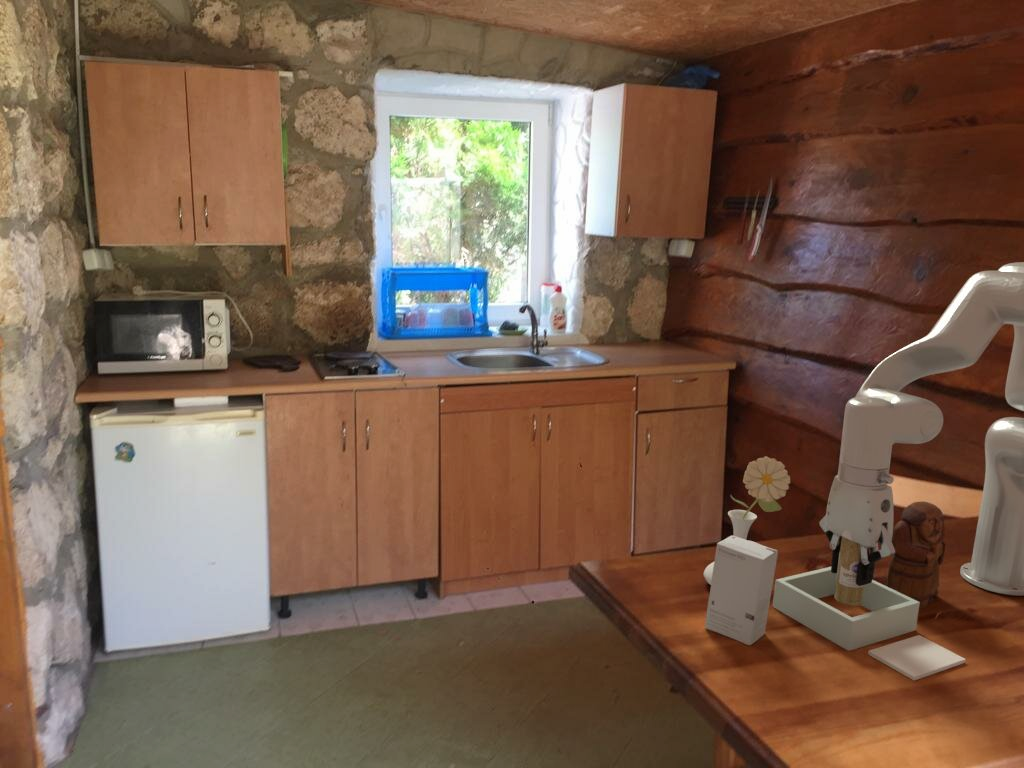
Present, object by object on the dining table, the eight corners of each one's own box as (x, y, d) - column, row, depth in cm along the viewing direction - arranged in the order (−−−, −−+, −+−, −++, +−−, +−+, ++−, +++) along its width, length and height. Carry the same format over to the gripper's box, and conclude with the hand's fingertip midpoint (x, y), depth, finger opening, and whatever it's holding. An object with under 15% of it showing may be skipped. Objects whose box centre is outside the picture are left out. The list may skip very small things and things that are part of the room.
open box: (836, 590, 151) (840, 564, 150) (915, 630, 137) (919, 602, 136) (772, 606, 143) (775, 579, 142) (848, 650, 129) (852, 621, 128)
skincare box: (704, 629, 134) (712, 542, 131) (721, 616, 139) (729, 532, 136) (753, 647, 129) (763, 558, 126) (769, 634, 134) (779, 547, 131)
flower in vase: (697, 592, 147) (710, 457, 142) (708, 568, 158) (720, 441, 152) (774, 608, 143) (790, 469, 137) (779, 582, 153) (795, 452, 148)
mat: (918, 638, 134) (919, 635, 134) (965, 662, 128) (965, 659, 127) (868, 654, 129) (868, 650, 129) (914, 680, 122) (914, 676, 122)
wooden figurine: (914, 614, 142) (930, 515, 139) (878, 600, 147) (892, 504, 143) (944, 596, 150) (960, 502, 146) (909, 583, 155) (923, 491, 151)
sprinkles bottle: (844, 608, 137) (853, 531, 134) (828, 595, 142) (836, 521, 139) (868, 605, 138) (878, 529, 135) (851, 593, 143) (860, 519, 140)
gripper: (924, 486, 129) (910, 594, 133) (837, 456, 144) (826, 554, 148) (892, 493, 126) (878, 604, 130) (806, 462, 140) (796, 562, 144)
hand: (851, 576), depth 139 cm, fingers closed on sprinkles bottle, 4 cm apart
